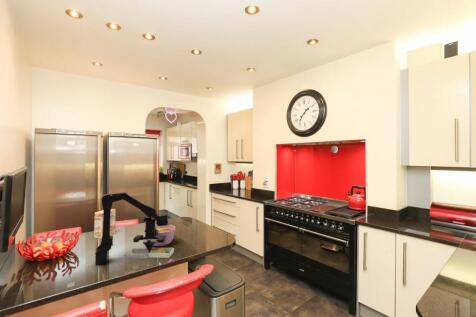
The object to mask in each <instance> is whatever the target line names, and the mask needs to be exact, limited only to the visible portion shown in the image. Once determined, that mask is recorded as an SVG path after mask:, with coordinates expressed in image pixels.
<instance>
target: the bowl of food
mask: <svg viewBox="0 0 476 317" xmlns="http://www.w3.org/2000/svg"><path fill="white" fill-rule="evenodd" d="M155 228H156V230H158V235H157V236H155V237H159V236H160V235H166V240H165V241H164V242H163V243H158V242H157V241H156V242H155V243H154V245H153V246H154V247H163V246H167V245H169V244H171V242H172V241H173V238H174V236H175V231H176V226H175V225H173V224H168V225H166V226H158V225H156V224H155ZM150 242H151V241H150Z"/></svg>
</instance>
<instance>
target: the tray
mask: <svg viewBox="0 0 476 317" xmlns="http://www.w3.org/2000/svg"><path fill="white" fill-rule="evenodd" d="M165 248H166V253H148V258H165V259H166V258H171V257H172V255H173V254H174V253H175V248H174V247H165Z"/></svg>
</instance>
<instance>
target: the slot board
mask: <svg viewBox="0 0 476 317" xmlns="http://www.w3.org/2000/svg"><path fill="white" fill-rule="evenodd" d="M153 248H154V247H152V249H153ZM148 253H149V252H148V250H147V248H146V247H142V248H141V247H133V248H131V252H129V253H125V254H124V258H125V259H126V258H127V259H133V258H134V259H148V258H149V257H148ZM150 253H151V252H150Z"/></svg>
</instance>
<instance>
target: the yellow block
mask: <svg viewBox="0 0 476 317" xmlns="http://www.w3.org/2000/svg"><path fill="white" fill-rule="evenodd" d="M158 248H159V249H158V251H157V253H167V252H166V248H167V247H158Z"/></svg>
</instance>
